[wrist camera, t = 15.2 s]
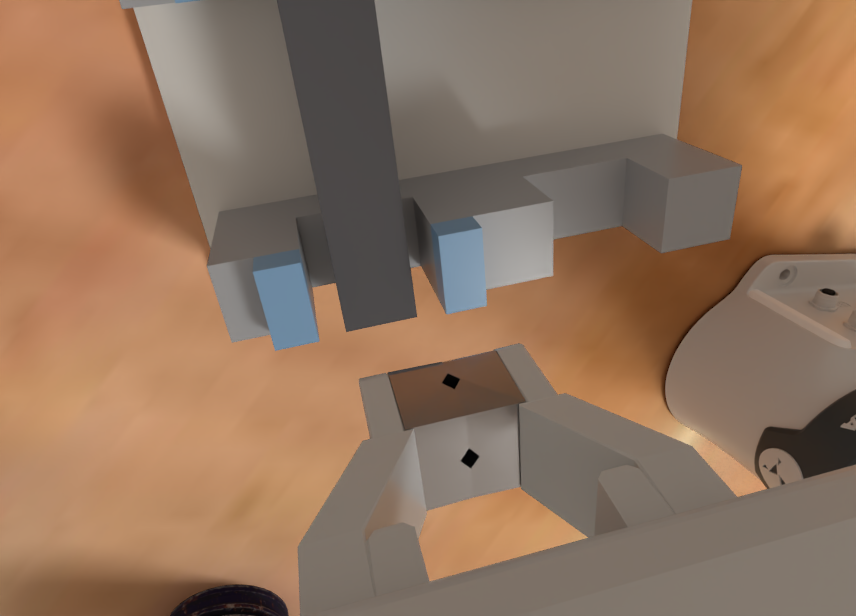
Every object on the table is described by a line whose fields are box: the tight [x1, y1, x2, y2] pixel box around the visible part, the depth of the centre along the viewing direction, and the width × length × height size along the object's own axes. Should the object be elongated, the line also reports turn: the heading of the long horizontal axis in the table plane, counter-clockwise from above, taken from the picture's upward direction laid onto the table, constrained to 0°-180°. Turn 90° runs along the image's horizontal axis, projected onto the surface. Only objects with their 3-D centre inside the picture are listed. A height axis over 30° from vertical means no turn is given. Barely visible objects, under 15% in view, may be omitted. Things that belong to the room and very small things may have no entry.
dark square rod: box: [277, 0, 417, 332], centre depth 26 cm, size 4×20×4 cm, turn 6°
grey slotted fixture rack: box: [119, 0, 742, 351], centre depth 28 cm, size 28×20×10 cm
